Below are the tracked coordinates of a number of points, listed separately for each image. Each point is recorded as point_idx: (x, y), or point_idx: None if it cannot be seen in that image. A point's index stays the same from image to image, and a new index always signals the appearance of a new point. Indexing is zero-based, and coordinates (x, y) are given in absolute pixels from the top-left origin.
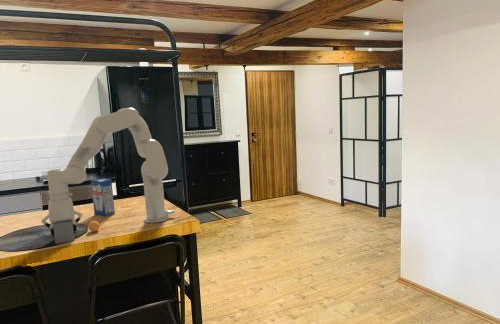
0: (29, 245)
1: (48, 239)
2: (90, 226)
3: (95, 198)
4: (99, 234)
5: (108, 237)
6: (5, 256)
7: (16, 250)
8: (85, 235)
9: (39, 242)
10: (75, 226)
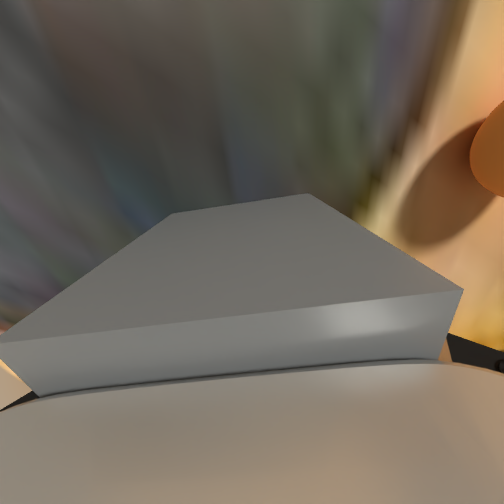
0: (33, 270)
1: (111, 188)
2: None
3: None
4: (478, 255)
5: (488, 335)
6: (16, 375)
7: (9, 323)
8: (389, 229)
9: (72, 236)
10: None
